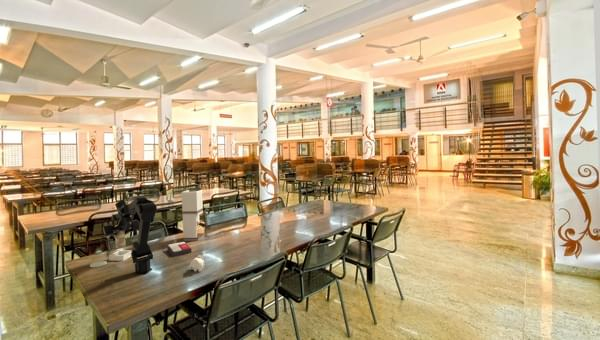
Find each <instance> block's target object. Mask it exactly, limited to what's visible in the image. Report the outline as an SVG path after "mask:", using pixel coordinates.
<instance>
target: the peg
mask: <svg viewBox="0 0 600 340" xmlns="http://www.w3.org/2000/svg"><path fill="white" fill-rule="evenodd" d="M116 226H117V225H116V224H115V225H114V227H116ZM116 233H117V235H116V237H114V239H115V248H116V249H122V248H125V247H126V235H125V230H123V231H116Z"/></svg>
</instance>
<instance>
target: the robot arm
mask: <svg viewBox="0 0 600 340" xmlns="http://www.w3.org/2000/svg"><path fill="white" fill-rule="evenodd" d="M114 206H115V209H116V211H117V213H115V214H112V215H111V217H110V218H111V221H115V225H113V226H112V224H105V225H103V226H102V231H103V234H104V236H105V237H108V236H113V238H115V237H116V235H117V233H116V231H123V230H125V236H126V235H128V234H130V233H132V232H135V231H138V233H137V240H136V241H135V242H133V243H132V248H131V250H132V251H131V260H132V264H134V270H135V272H134V275H135V274H136V275H137V274H138V275H147V274H148V273H149V272H150V271H152V270H153V268H152V266H151V260H153V259H154V255H153V252H152V250H151V247H150V245H149V243H148V239H149V236H150V233H149V232H150V228H151V221H152V219H153V218H154V217H155V216H156V213H157V210H158V206H157V205H156V203H155V202H154V201H152V200H150V199H148V198H147V197H145V196H140V197H139V196H138V197H134V198H133V200H132V201H131V202H130V203H127V201H125V199H121V200H119V201H117V202H115V205H114ZM136 213H137V216H138V217H139V220H138V219H134V220H133V215H136ZM116 225H117V226H116ZM115 226H116V227H115Z"/></svg>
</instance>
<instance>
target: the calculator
mask: <svg viewBox="0 0 600 340" xmlns="http://www.w3.org/2000/svg"><path fill="white" fill-rule="evenodd" d="M166 249H167V252H168V253H169V254H170V255H171V256H172V257H178V256H183V255H187V254H191V253H192V251H193V250H192V248H191V247H190V246H189V245H188V244H187V242H185V241H181V242H177V243H176V242H175V243H171V244H170V243H169V244H167V245H166Z"/></svg>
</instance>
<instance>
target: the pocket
mask: <svg viewBox="0 0 600 340" xmlns="http://www.w3.org/2000/svg"><path fill="white" fill-rule="evenodd" d="M131 251H132V249H131V250H128V249H127V250H120V249H119V250H117V251H115V252H112V253H111V254H109V255H108V261H115V262H116V261H118V262H119V261H120V262H121V261H123V262H124V261H125V260H126V261H127V259H129V258H130V257H131V258H132V256H131Z"/></svg>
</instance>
